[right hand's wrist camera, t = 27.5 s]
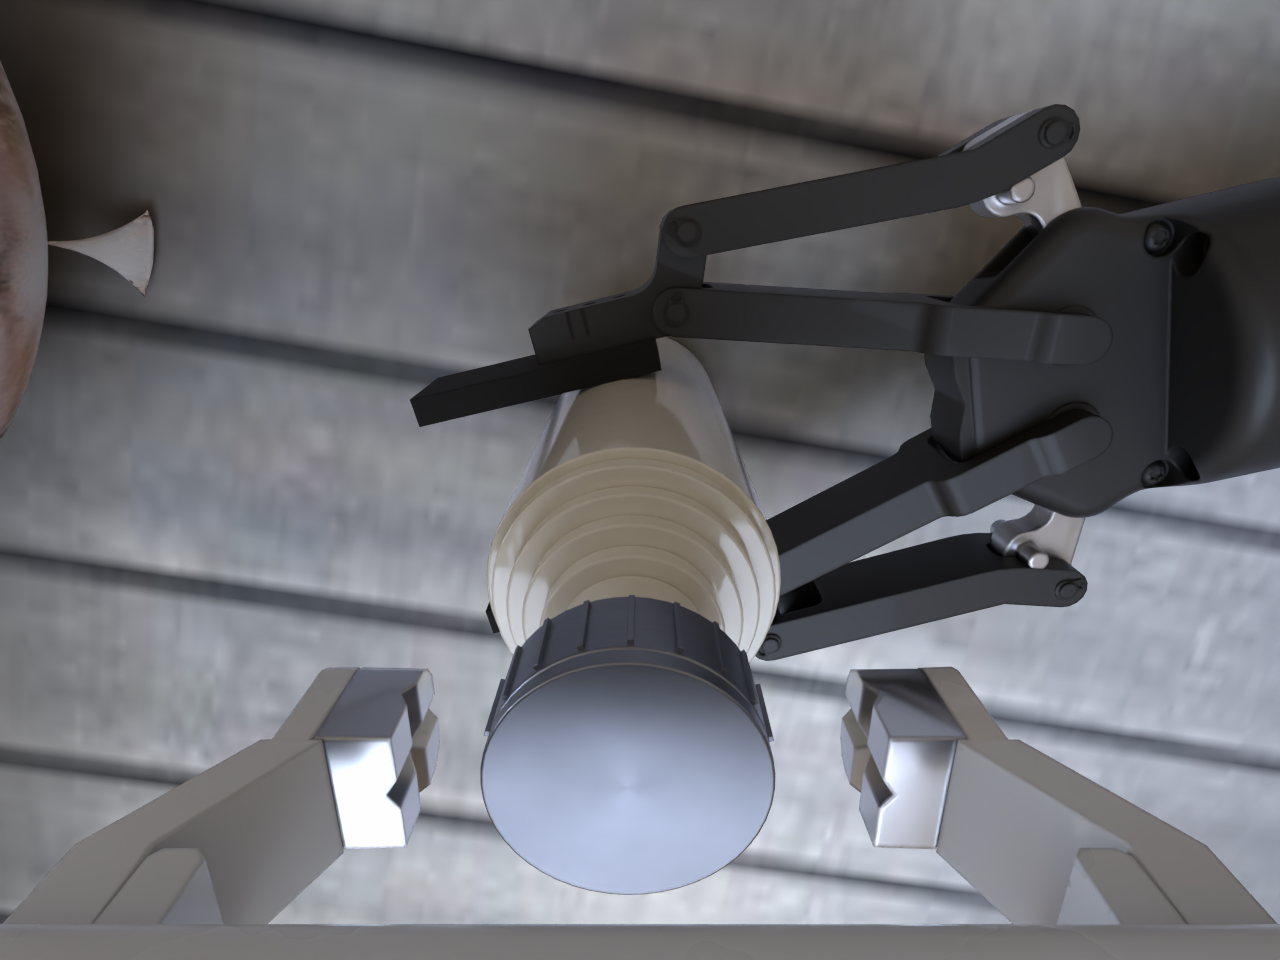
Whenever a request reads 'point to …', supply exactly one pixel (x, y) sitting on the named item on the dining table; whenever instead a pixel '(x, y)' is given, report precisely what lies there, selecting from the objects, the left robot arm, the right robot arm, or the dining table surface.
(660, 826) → the cap
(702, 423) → the bottle
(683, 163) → the dining table surface
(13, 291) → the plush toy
